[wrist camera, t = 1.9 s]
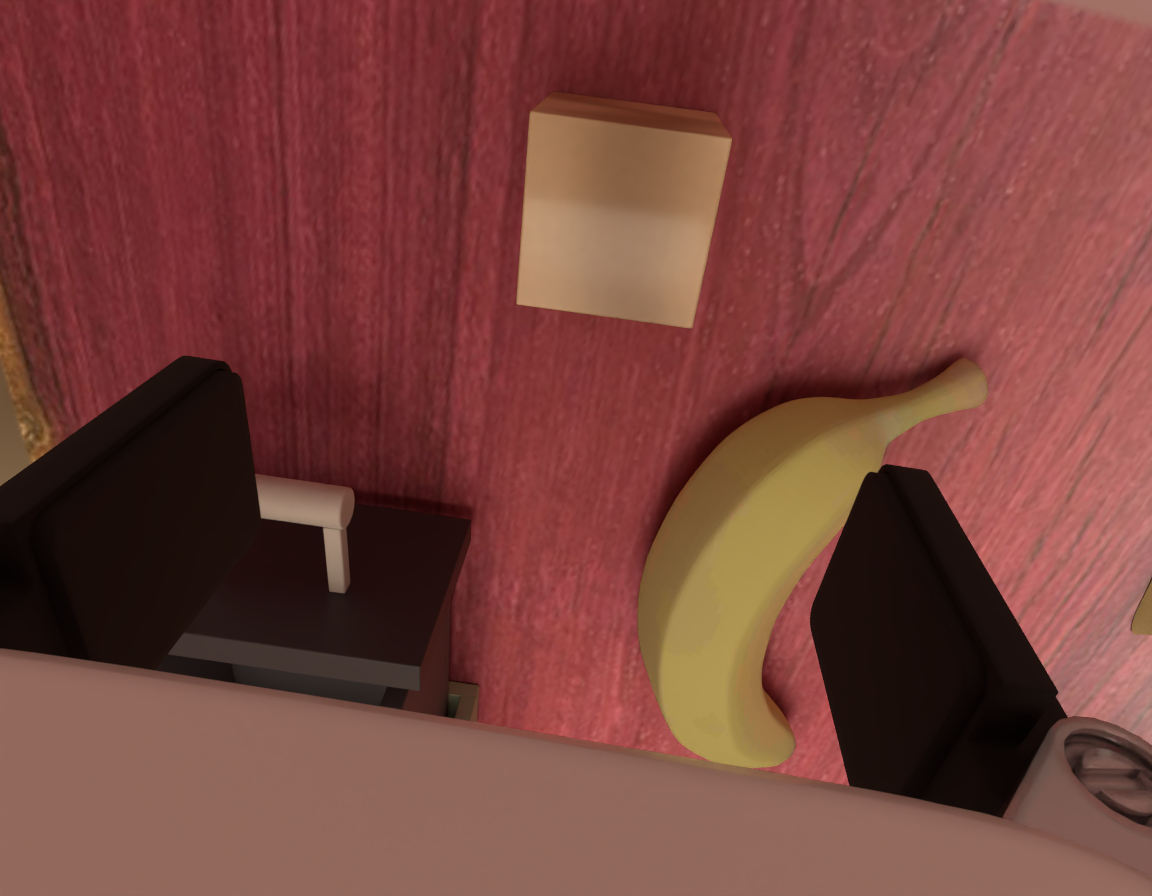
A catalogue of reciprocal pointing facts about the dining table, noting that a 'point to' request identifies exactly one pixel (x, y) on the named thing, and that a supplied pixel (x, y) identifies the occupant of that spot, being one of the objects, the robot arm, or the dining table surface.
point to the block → (619, 207)
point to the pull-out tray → (334, 602)
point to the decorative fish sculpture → (1144, 615)
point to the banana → (761, 555)
